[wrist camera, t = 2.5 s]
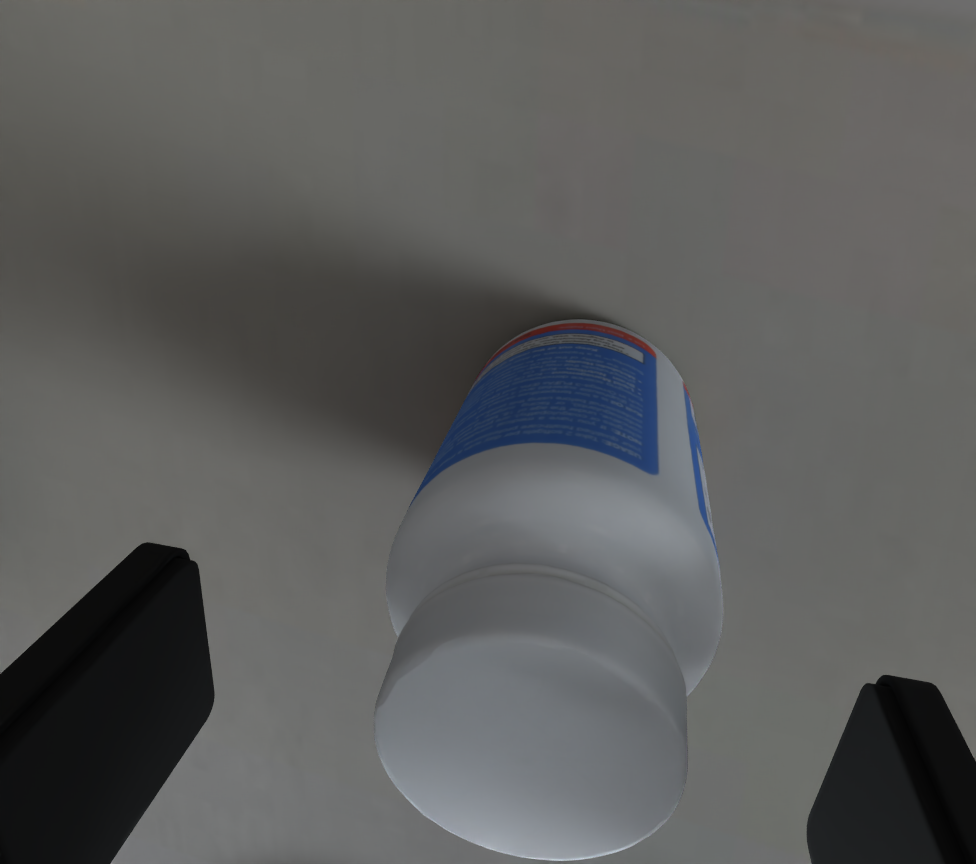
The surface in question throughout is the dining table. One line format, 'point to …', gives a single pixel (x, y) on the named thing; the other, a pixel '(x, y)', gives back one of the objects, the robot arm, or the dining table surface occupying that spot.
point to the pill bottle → (554, 601)
